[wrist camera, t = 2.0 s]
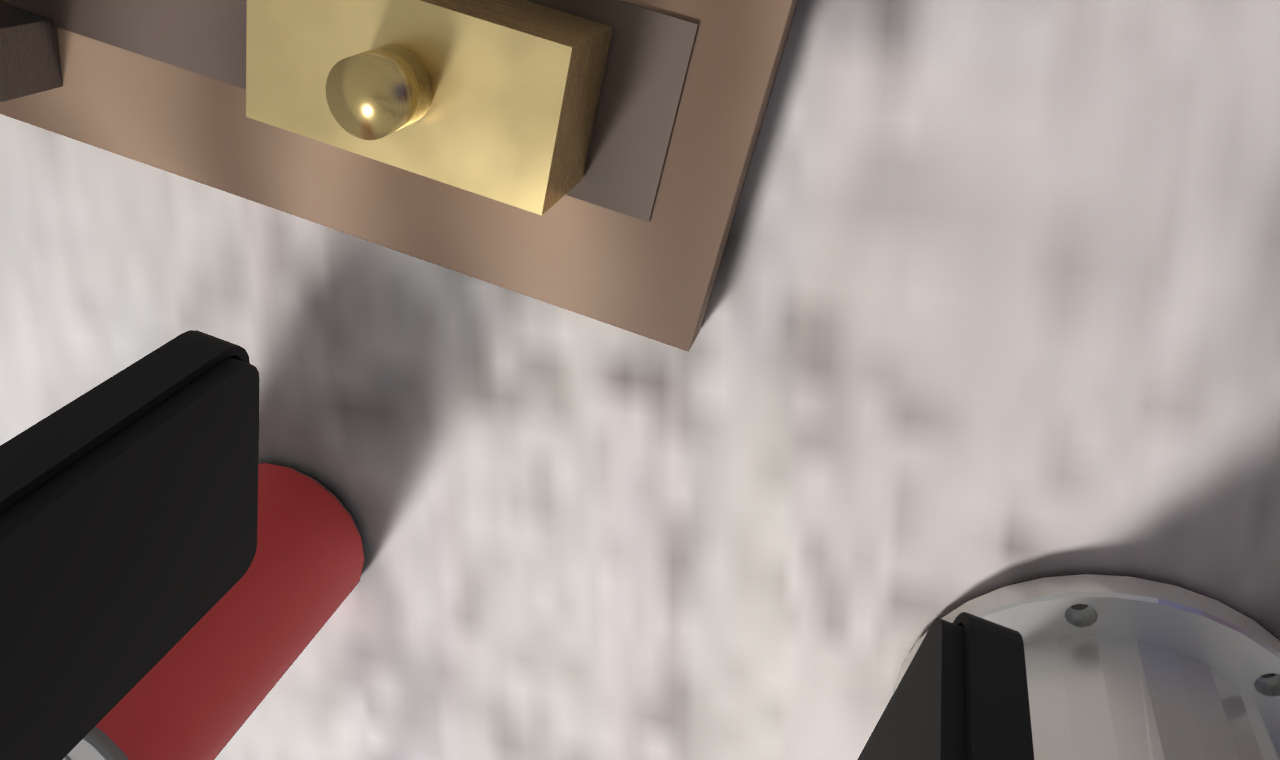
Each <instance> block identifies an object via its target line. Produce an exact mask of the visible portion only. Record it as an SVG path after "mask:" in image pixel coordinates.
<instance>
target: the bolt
mask: <svg viewBox="0 0 1280 760" xmlns="http://www.w3.org/2000/svg"><path fill="white" fill-rule="evenodd" d="M612 31H613V27H612V26H609V25H606V24H602V23H599V22H596V21H592V20H589V19H586V18H583V17H579V16H576V15H573V14H569V13H566V12H563V11H560V10H556V9H553V8H550V7H546V6H543V5H540V4H537V3H533V2H530V1H527V0H247V32H246V117H248V118H251V119H254V120H257V121H260V122H263V123H266V124H269V125H272V126H275V127H278V128H281V129H284V130H287V131H290V132H293V133H296V134H299V135H302V136H305V137H308V138H311V139H314V140H317V141H320V142H323V143H326V144H329V145H332V146H335V147H338V148H341V149H344V150H347V151H350V152H353V153H356V154H359V155H362V156H365V157H368V158H371V159H374V160H377V161H380V162H383V163H386V164H389V165H392V166H395V167H398V168H401V169H404V170H407V171H410V172H413V173H416V174H419V175H422V176H425V177H428V178H431V179H434V180H437V181H440V182H443V183H446V184H449V185H452V186H455V187H458V188H461V189H464V190H467V191H470V192H473V193H476V194H479V195H482V196H485V197H488V198H491V199H494V200H497V201H500V202H503V203H506V204H509V205H512V206H515V207H518V208H521V209H524V210H527V211H530V212H533V213H536V214H539V215H543V214H544V213H545V212H546V211H547V210H549V209H550V208H551V207H552V206H553V205H554V204H555V203H556V202H558V201H559V200H560V199H561V198H562V197H563V196H564V195H566V194H567V193H568V192H569V191H570V190H571V189H572V188H574V187H575V186H576V185H577V184H578V183H579V182H580V181H582V179H583V174H584V169H585V164H586V160H587V155H588V150H589V145H590V140H591V135H592V130H593V125H594V120H595V115H596V110H597V105H598V100H599V95H600V90H601V86H602V81H603V76H604V71H605V66H606V61H607V56H608V51H609V46H610V41H611V36H612Z"/></svg>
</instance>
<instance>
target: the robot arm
mask: <svg viewBox="0 0 1280 760" xmlns="http://www.w3.org/2000/svg"><path fill="white" fill-rule="evenodd" d="M258 443H259V372H258V370H257V368H256V367H255V366H253V365H251V364H250V363H249V356H248V354H247V352H246V350H245V349H243V348H242V347H240V346H238V345H235V344H232V343H230V342H227V341H224V340H221V339H219V338H216V337H213V336H211V335H208V334H205V333H202V332H200V331H187V332H185V333H183V334H181V335H179V336H177V337H176V338H174V339H173V340H171V341H169V342H168V343H166V344H165V345H163V346H161V347H160V348H158V349H156V350H155V351H153V352H152V353H150V354H148V355H147V356H145V357H143V358H142V359H140V360H139V361H137V362H135V363H134V364H132V365H131V366H129V367H127V368H126V369H124V370H122V371H121V372H119V373H118V374H116V375H114V376H113V377H111V378H109V379H108V380H106V381H105V382H103V383H101V384H100V385H98V386H96V387H95V388H93V389H92V390H90V391H88V392H87V393H85V394H84V395H82V396H80V397H79V398H77V399H75V400H74V401H72V402H71V403H69V404H67V405H66V406H64V407H62V408H61V409H59V410H58V411H56V412H54V413H53V414H51V415H50V416H48V417H46V418H45V419H43V420H41V421H40V422H38V423H37V424H35V425H33V426H32V427H30V428H28V429H27V430H25V431H24V432H22V433H20V434H19V435H17V436H16V437H14V438H12V439H11V440H9V441H7V442H6V443H4V444H3V445H1V446H0V760H62V759H63V758H64V757H65V756H66V755H67V754H68V753H69V752H70V751H71V750H72V749H73V748H74V747H75V746H76V745H77V744H78V743H79V742H80V741H81V740H82V739H83V738H84V737H85V736H86V735H87V734H88V733H89V732H90V731H91V730H92V729H93V728H94V727H95V726H96V725H97V724H98V723H99V722H100V721H101V720H102V719H103V718H104V717H105V716H106V715H107V714H108V713H109V712H110V711H111V710H112V709H113V708H114V707H115V706H116V705H117V704H118V703H119V702H120V701H121V700H122V699H123V698H124V697H125V696H126V695H127V694H128V693H129V692H130V691H131V690H132V688H133V687H134V686H135V685H136V684H137V683H138V682H139V681H140V680H141V679H142V678H143V677H144V676H145V675H146V674H147V673H148V672H149V671H150V670H151V669H152V668H153V667H154V666H155V665H156V664H157V663H158V662H159V661H160V660H161V659H162V658H163V657H164V656H165V655H166V654H167V653H168V652H169V651H170V650H171V649H172V648H173V647H174V646H175V645H176V644H177V643H178V642H179V641H180V640H181V639H182V638H183V637H184V636H185V635H186V634H187V633H188V632H189V631H190V630H191V629H192V628H193V627H194V626H195V625H196V624H197V623H198V622H199V621H200V620H201V619H202V618H203V617H204V616H205V615H206V613H207V612H208V611H209V610H210V609H211V608H212V607H213V606H214V605H215V604H216V603H217V602H218V601H219V600H220V599H221V598H222V597H223V596H224V595H225V594H226V593H227V592H228V591H229V590H230V589H231V588H232V587H233V586H234V585H235V584H236V583H237V582H238V581H239V580H240V579H241V578H242V577H243V576H244V574H245V573H246V572H247V570H248V569H249V567H250V565H251V563H252V561H253V559H254V556H255V553H256V549H257V522H258ZM858 760H1280V641H1279V640H1278V639H1277V638H1275V637H1274V636H1273V635H1272V634H1270V633H1269V632H1268V631H1267V630H1265V629H1264V628H1263V627H1262V626H1260V625H1259V624H1258V623H1257V622H1255V621H1254V620H1252V619H1250V618H1249V617H1247V616H1245V615H1243V614H1241V613H1239V612H1238V611H1236V610H1234V609H1232V608H1230V607H1228V606H1227V605H1225V604H1223V603H1221V602H1219V601H1217V600H1215V599H1212V598H1209V597H1206V596H1204V595H1201V594H1198V593H1195V592H1192V591H1189V590H1187V589H1184V588H1181V587H1178V586H1175V585H1170V584H1165V583H1160V582H1155V581H1150V580H1145V579H1140V578H1135V577H1128V576H1110V575H1093V574H1081V575H1069V576H1057V577H1045V578H1039V579H1035V580H1031V581H1026V582H1022V583H1018V584H1013V585H1009V586H1005V587H1002V588H999V589H997V590H994V591H992V592H989V593H987V594H984V595H982V596H979V597H977V598H975V599H972V600H970V601H968V602H966V603H964V604H963V605H961V606H960V607H958V608H957V609H955V610H953V611H952V612H950V613H949V614H947V615H946V616H944V617H942V618H941V619H940V618H937V619H936V620H935V621H934V622H933V624H932V625H931V627H930V628H929V630H928V631H927V632H926V633H925V634H924V635H923V636H922V637H921V638H920V639H919V640H918V641H917V642H916V644H915V645H914V647H913V648H912V650H911V652H910V653H909V655H908V656H907V658H906V660H905V661H904V663H903V664H902V667H901V670H900V674H899V677H898V680H897V683H896V686H895V690H894V694H893V696H892V698H891V700H890V701H889V703H888V705H887V707H886V709H885V711H884V712H883V714H882V716H881V718H880V720H879V721H878V723H877V725H876V727H875V729H874V731H873V732H872V734H871V736H870V738H869V740H868V742H867V743H866V745H865V747H864V749H863V751H862V753H861V754H860V756H859V758H858Z"/></svg>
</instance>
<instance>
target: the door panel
mask: <svg viewBox="0 0 1280 760" xmlns="http://www.w3.org/2000/svg"><path fill="white" fill-rule="evenodd" d="M1 1H4V2H7V3H9V4H10V5H12V6H15V7H18V8H21V9H24V10H27V11H30V12H33V13H36V14H39V15H42V16H45V17H48V18H51V19H54V26H55V27H57V31H58V41H59V51H60V61H61V72H62V82H63V86H62V87H58V88H55V89H51V90H47V91H43V92H39V93H35V94H31V95H27V96H24V97H20V98H16V99H12V100H8V101H4V102H0V114H3V115H6V116H9V117H12V118H14V119H17V120H20V121H23V122H26V123H29V124H32V125H35V126H38V127H41V128H43V129H46V130H49V131H52V132H55V133H58V134H61V135H64V136H67V137H69V138H72V139H75V140H78V141H81V142H84V143H87V144H90V145H93V146H95V147H98V148H101V149H104V150H107V151H110V152H113V153H116V154H119V155H121V156H124V157H127V158H130V159H133V160H136V161H139V162H142V163H145V164H148V165H150V166H153V167H156V168H159V169H162V170H165V171H168V172H171V173H174V174H176V175H179V176H182V177H185V178H188V179H191V180H194V181H197V182H200V183H202V184H205V185H208V186H211V187H214V188H217V189H220V190H223V191H226V192H228V193H231V194H234V195H237V196H240V197H243V198H246V199H249V200H252V201H254V202H257V203H260V204H263V205H266V206H269V207H272V208H275V209H278V210H281V211H283V212H286V213H289V214H292V215H295V216H298V217H301V218H304V219H307V220H309V221H312V222H315V223H318V224H321V225H324V226H327V227H330V228H333V229H335V230H338V231H341V232H344V233H347V234H350V235H353V236H356V237H359V238H361V239H364V240H367V241H370V242H373V243H376V244H379V245H382V246H385V247H388V248H390V249H393V250H396V251H399V252H402V253H405V254H408V255H411V256H414V257H416V258H419V259H422V260H425V261H428V262H431V263H434V264H437V265H440V266H442V267H445V268H448V269H451V270H454V271H457V272H460V273H463V274H466V275H468V276H471V277H474V278H477V279H480V280H483V281H486V282H489V283H492V284H494V285H497V286H500V287H503V288H506V289H509V290H512V291H515V292H518V293H521V294H523V295H526V296H529V297H532V298H535V299H538V300H541V301H544V302H547V303H549V304H552V305H555V306H558V307H561V308H564V309H567V310H570V311H573V312H575V313H578V314H581V315H584V316H587V317H590V318H593V319H596V320H599V321H601V322H604V323H607V324H610V325H613V326H616V327H619V328H622V329H625V330H628V331H630V332H633V333H636V334H639V335H642V336H645V337H648V338H651V339H654V340H656V341H659V342H662V343H665V344H668V345H671V346H674V347H677V348H680V349H682V350H685V351H688V352H689V350H690V348H691V346H692V344H693V342H694V341H695V339H696V337H697V335H698V333H699V331H700V329H701V326H702V322H703V319H704V316H705V312H706V309H707V305H708V302H709V299H710V295H711V292H712V289H713V285H714V282H715V279H716V275H717V272H718V269H719V265H720V262H721V259H722V255H723V252H724V248H725V245H726V242H727V238H728V235H729V232H730V228H731V225H732V222H733V218H734V215H735V212H736V208H737V205H738V202H739V198H740V195H741V191H742V188H743V185H744V181H745V178H746V175H747V171H748V168H749V165H750V161H751V158H752V155H753V151H754V148H755V144H756V141H757V138H758V134H759V131H760V128H761V124H762V121H763V118H764V114H765V111H766V108H767V104H768V101H769V98H770V94H771V91H772V87H773V84H774V81H775V77H776V74H777V71H778V67H779V64H780V61H781V57H782V54H783V51H784V47H785V44H786V40H787V37H788V34H789V30H790V27H791V24H792V20H793V17H794V14H795V10H796V7H797V4H798V0H527V1H530V2H533V3H537V4H540V5H543V6H546V7H550V8H553V9H556V10H560V11H563V12H566V13H569V14H573V15H576V16H579V17H583V18H586V19H589V20H592V21H596V22H599V23H602V24H606V25H609V26H612V27H613V31H612V36H611V41H610V46H609V51H608V56H607V61H606V66H605V71H604V76H603V81H602V86H601V90H600V95H599V100H598V105H597V110H596V115H595V120H594V125H593V130H592V135H591V140H590V145H589V150H588V155H587V160H586V164H585V169H584V174H583V179H582V181H580V182H579V183H578V184H577V185H576V186H575V187H574V188H572V189H571V190H570V191H569V192H568V193H567V194H566V195H564V196H563V197H562V198H561V199H560V200H559V201H558V202H556V203H555V204H554V205H553V206H552V207H551V208H550V209H549V210H547V211H546V212H545V213H544V214H543V215H539V214H536V213H533V212H530V211H527V210H524V209H521V208H518V207H515V206H512V205H509V204H506V203H503V202H500V201H497V200H494V199H491V198H488V197H485V196H482V195H479V194H476V193H473V192H470V191H467V190H464V189H461V188H458V187H455V186H452V185H449V184H446V183H443V182H440V181H437V180H434V179H431V178H428V177H425V176H422V175H419V174H416V173H413V172H410V171H407V170H404V169H401V168H398V167H395V166H392V165H389V164H386V163H383V162H380V161H377V160H374V159H371V158H368V157H365V156H362V155H359V154H356V153H353V152H350V151H347V150H344V149H341V148H338V147H335V146H332V145H329V144H326V143H323V142H320V141H317V140H314V139H311V138H308V137H305V136H302V135H299V134H296V133H293V132H290V131H287V130H284V129H281V128H278V127H275V126H272V125H269V124H266V123H263V122H260V121H257V120H254V119H251V118H248V117H246V32H247V0H1Z"/></svg>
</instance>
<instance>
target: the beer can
mask: <svg viewBox="0 0 1280 760" xmlns="http://www.w3.org/2000/svg"><path fill="white" fill-rule="evenodd" d="M364 560H365V559H364V552H363V545H362V539H361V535H360V533H359V531H358V529H357V526H356V524H355V522H354V520H353V518H352V516H351V514H350V513H349V512H348V510H347V509H346V508H345V507H344V506H343V504H342V503H341V502H340V501H339V499H338V498H337V497H336V496H335V495H334V494H333V493H332V492H330V491H329V490H328V489H327V488H325V487H324V486H323V485H322V484H320V483H319V482H318V481H316V480H315V479H313V478H311V477H309V476H307V475H305V474H303V473H301V472H299V471H297V470H295V469H293V468H289V467H284V466H279V465H274V464H269V463H260V464H258V522H257V549H256V553H255V556H254V559H253V561H252V563H251V565H250V567H249V569H248V570H247V572H246V573H245V574H244V576H243V577H242V578H241V579H240V580H239V581H238V582H237V583H236V584H235V585H234V586H233V587H232V588H231V589H230V590H229V591H228V592H227V593H226V594H225V595H224V596H223V597H222V598H221V599H220V600H219V601H218V602H217V603H216V604H215V605H214V606H213V607H212V608H211V609H210V610H209V611H208V612H207V613H206V615H205V616H204V617H203V618H202V619H201V620H200V621H199V622H198V623H197V624H196V625H195V626H194V627H193V628H192V629H191V630H190V631H189V632H188V633H187V634H186V635H185V636H184V637H183V638H182V639H181V640H180V641H179V642H178V643H177V644H176V645H175V646H174V647H173V648H172V649H171V650H170V651H169V652H168V653H167V654H166V655H165V656H164V657H163V658H162V659H161V660H160V661H159V662H158V663H157V664H156V665H155V666H154V667H153V668H152V669H151V670H150V671H149V672H148V673H147V674H146V675H145V676H144V677H143V678H142V679H141V680H140V681H139V682H138V683H137V684H136V685H135V686H134V687H133V688H132V690H131V691H130V692H129V693H128V694H127V695H126V696H125V697H124V698H123V699H122V700H121V701H120V702H119V703H118V704H117V705H116V706H115V707H114V708H113V709H112V710H111V711H110V712H109V713H108V714H107V715H106V716H105V717H104V718H103V719H102V720H101V721H100V722H99V723H98V724H97V725H96V726H95V727H94V728H93V729H92V730H91V731H90V732H89V733H88V734H87V735H86V736H85V737H84V738H83V739H82V740H81V741H80V742H79V743H78V744H77V745H76V746H75V747H74V748H73V749H72V750H71V751H70V752H69V753H68V754H67V755H66V756H65V757H64V758H63V759H62V760H214V759H215V758H216V757H217V755H218V754H219V753H220V752H221V751H222V749H223V748H224V747H225V746H226V744H227V743H228V742H229V741H230V739H231V738H232V737H233V736H234V735H235V733H236V732H237V731H238V730H239V728H240V727H241V726H242V725H243V724H244V722H245V721H246V720H247V719H248V717H249V716H250V715H251V714H252V713H253V711H254V710H255V709H256V708H257V706H258V705H259V704H260V703H261V702H262V700H263V699H264V698H265V697H266V695H267V694H268V693H269V692H270V690H271V689H272V688H273V687H274V686H275V684H276V683H277V682H278V681H279V679H280V678H281V677H282V676H283V675H284V673H285V672H286V671H287V670H288V668H289V667H290V666H291V665H292V664H293V662H294V661H295V660H296V659H297V657H298V656H299V655H300V654H301V652H302V651H303V650H304V649H305V648H306V646H307V645H308V644H309V643H310V641H311V640H312V639H313V638H314V637H315V635H316V634H317V633H318V632H319V630H320V629H321V628H322V627H323V626H324V624H325V623H326V622H327V621H328V619H329V618H330V617H331V616H332V615H333V613H334V612H335V611H336V610H337V608H338V607H339V606H340V605H341V603H342V602H343V601H344V600H345V599H346V597H347V596H348V595H349V594H350V592H351V591H352V590H353V589H354V588H355V586H356V585H357V584H358V583H359V581H360V577H361V573H362V569H363V565H364Z"/></svg>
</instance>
